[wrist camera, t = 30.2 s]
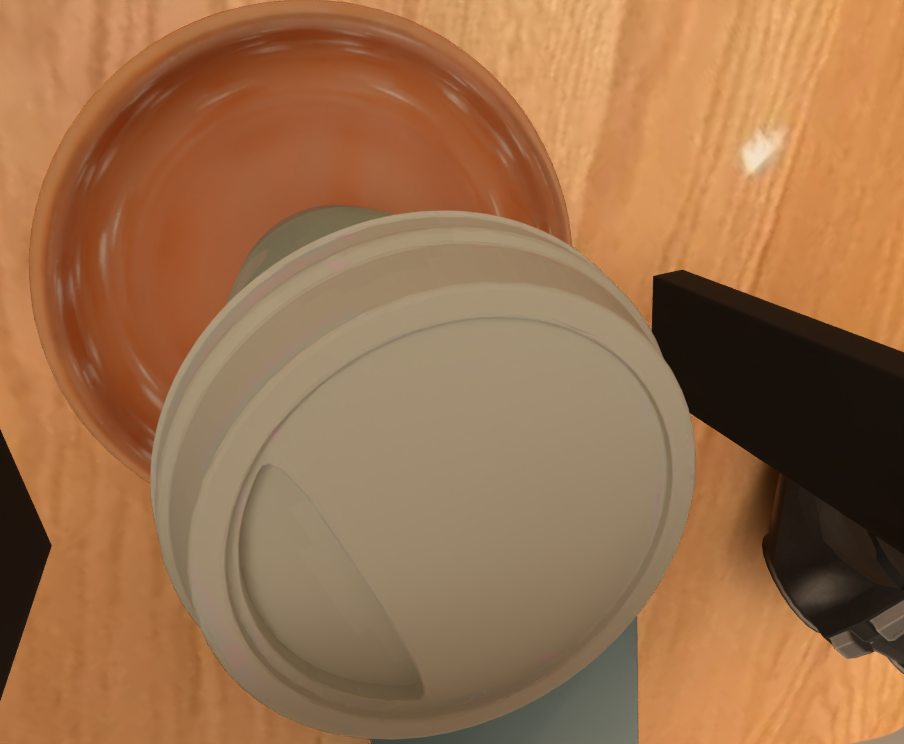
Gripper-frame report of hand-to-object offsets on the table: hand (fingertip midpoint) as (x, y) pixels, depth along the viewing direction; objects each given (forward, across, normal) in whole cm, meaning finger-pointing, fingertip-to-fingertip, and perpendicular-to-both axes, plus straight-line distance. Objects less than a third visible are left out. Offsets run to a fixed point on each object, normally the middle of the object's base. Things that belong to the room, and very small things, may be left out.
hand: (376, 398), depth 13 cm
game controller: (+10, +24, -18) cm, 32 cm away
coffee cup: (+7, 0, 0) cm, 7 cm away
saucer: (+10, 0, 0) cm, 10 cm away
